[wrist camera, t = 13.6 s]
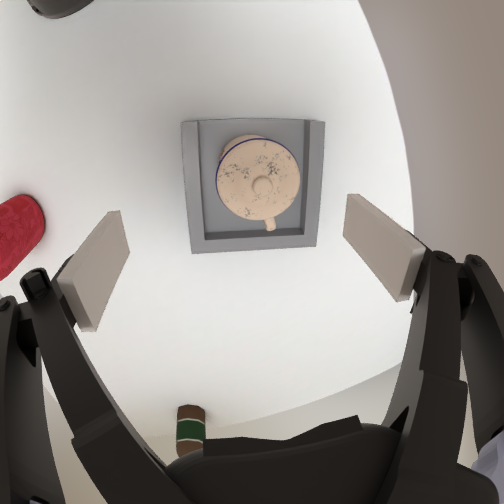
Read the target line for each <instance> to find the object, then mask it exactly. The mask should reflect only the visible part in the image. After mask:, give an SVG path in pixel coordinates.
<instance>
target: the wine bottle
mask: <svg viewBox="0 0 504 504" xmlns="http://www.w3.org/2000/svg"><path fill="white" fill-rule="evenodd" d="M43 233H44V218H43V214H42V212H41V209H40V208H39V206H38V204H37V203H36V202H35V201H34V200H33V199H32V198H30V197H28V196H26V195H18V196H15V197H13V198H11V199H9V200H7V201H5V202H4V203H2V204H0V281H1V280H3V279H4V278H5V277H7V276H8V275H9V274H10V273H11V272H12V271H13V270H14V269H15V268H16V267H17V266H18V264H19V263H20V262H21V261H22V260H23V259H24V258H25V257H26V256H27V255H28V254H29V252H30V251H31V250H32V249H33V248H34V247H35V246H36V245H37V244H38V242H39V241H40V240H41V238H42V236H43Z"/></svg>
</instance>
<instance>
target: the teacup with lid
mask: <svg viewBox="0 0 504 504" xmlns="http://www.w3.org/2000/svg"><path fill="white" fill-rule="evenodd" d="M215 182H216V189H217V193H218V195H219V198H220V199H221V201H222V203H223V204H224V205H225V206H226V208H227V209H229V210H230V211H231V212H232V213H234V214H235V215H237V216H239V217H242V218H245V219H249V220H263V222H264V225H265V228H266V230H267V231H272V230H275V229H276V223H275V219H274V217H275V216H277V215H279V214H280V213H282V212H283V211H285V210H286V209H287V208H288V207H289V206H290V205H291V204H292V202H293V201H294V199H295V197H296V195H297V193H298V190H299V186H300V170H299V166H298V163H297V161H296V159H295V157H294V156H293V154H292V153H291V152H290V151H289V150H288V149H287V148H286V147H285V146H283V145H282V144H280V143H278V142H276V141H273V140H270V139H266V138H264V137H261V136H258V135H243V136H240V137H237V138H235V139H233V140H232V141H230V142H229V143H228V144H227V145H226V146H225V147H224V148H223V150H222V152H221V154H220V156H219V159H218V168H217V171H216V179H215Z"/></svg>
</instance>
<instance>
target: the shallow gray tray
mask: <svg viewBox="0 0 504 504" xmlns="http://www.w3.org/2000/svg"><path fill="white" fill-rule="evenodd" d="M243 135H258V136H261V137H264V138H266V139H270V140H273V141H276V142H278V143H280V144H282V145H283V146H285V147H286V148H287V149H288V150H289V151H290V152H291V153H292V154H293V156H294V157H295V159H296V161H297V163H298V166H299V170H300V186H299V190H298V193H297V195H296V197H295V199H294V201H293V202H292V204H291V205H290V206H289V207H288V208H287V209H286V210H285V211H283V212H282V213H280V214H279V215H277V216H275V217H274V219H275V223H276V229H275V230H272V231H267V230H266V228H265V225H264V222H263V220H249V219H245V218H242V217H239V216H237V215H235V214H234V213H232V212H231V211H230V210H229V209H227V208H226V206H225V205H224V204H223V203H222V201H221V199H220V198H219V195H218V193H217V189H216V182H215V179H216V171H217V168H218V159H219V156H220V154H221V152H222V150H223V148H224V147H225V146H226V145H227V144H228V143H229V142H230V141H232V140H233V139H235V138H237V137H240V136H243ZM324 137H325V122H323V121H314V120H297V119H219V120H202V121H189V122H182V123H181V138H182V155H183V170H184V183H185V195H186V205H187V216H188V225H189V235H190V243H191V252H192V254H200V253H216V252H233V251H249V250H266V249H283V248H299V247H316V242H317V232H318V222H319V212H320V200H321V188H322V173H323V157H324Z"/></svg>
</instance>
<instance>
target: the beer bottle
mask: <svg viewBox="0 0 504 504" xmlns="http://www.w3.org/2000/svg"><path fill="white" fill-rule="evenodd" d="M203 439H206V435H205V411H204V410H203V409H201V408H200V407H199V406H194V405H184V406H181V407H179V409H178V414H177V432H176V448H177V449H176V450H177V454H178V456H179V457H181V456H183V455H185V454H187V453H189V452H192V451H195V450H198V449H202V448H203Z"/></svg>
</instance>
